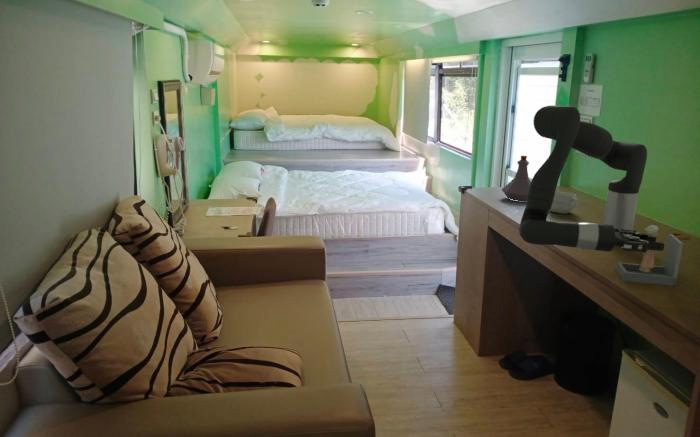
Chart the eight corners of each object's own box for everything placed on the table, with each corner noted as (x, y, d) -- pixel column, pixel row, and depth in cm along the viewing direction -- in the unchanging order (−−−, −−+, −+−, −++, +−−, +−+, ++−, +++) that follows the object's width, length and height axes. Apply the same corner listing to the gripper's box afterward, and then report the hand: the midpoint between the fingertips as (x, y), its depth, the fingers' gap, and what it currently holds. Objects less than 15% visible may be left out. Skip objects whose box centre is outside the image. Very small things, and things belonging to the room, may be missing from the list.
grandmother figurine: (654, 274, 142) (663, 229, 139) (638, 272, 144) (647, 227, 140) (651, 265, 149) (659, 222, 146) (636, 263, 151) (644, 220, 147)
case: (615, 270, 153) (622, 230, 150) (665, 274, 150) (672, 234, 147) (623, 280, 145) (629, 239, 141) (675, 286, 141) (683, 243, 138)
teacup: (541, 209, 223) (543, 190, 221) (564, 208, 225) (567, 190, 223) (559, 217, 210) (562, 198, 207) (584, 216, 211) (587, 197, 209)
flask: (501, 194, 249) (505, 152, 244) (538, 197, 244) (543, 154, 239) (499, 202, 234) (503, 157, 228) (538, 205, 229) (543, 159, 223)
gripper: (601, 230, 140) (670, 237, 136) (591, 217, 153) (654, 222, 150) (596, 257, 142) (665, 264, 138) (587, 242, 155) (649, 248, 152)
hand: (659, 242), depth 144 cm, fingers closed on grandmother figurine, 6 cm apart
